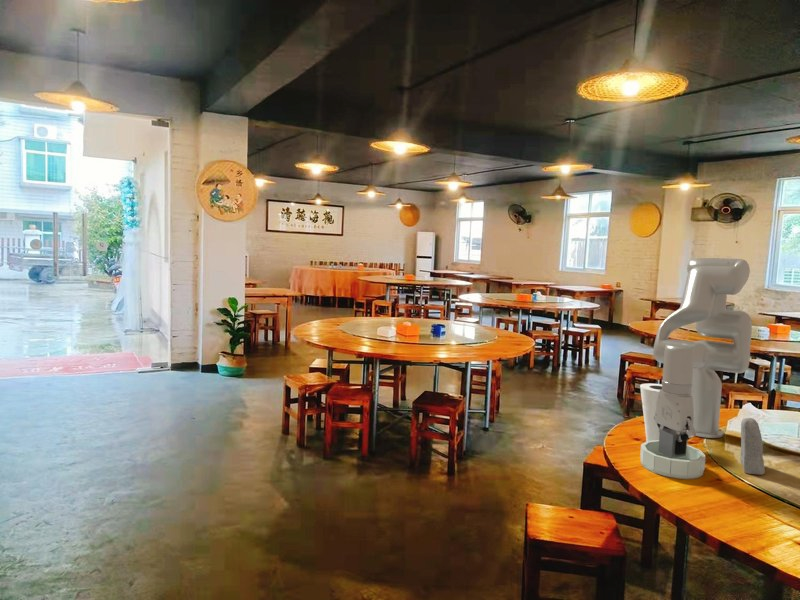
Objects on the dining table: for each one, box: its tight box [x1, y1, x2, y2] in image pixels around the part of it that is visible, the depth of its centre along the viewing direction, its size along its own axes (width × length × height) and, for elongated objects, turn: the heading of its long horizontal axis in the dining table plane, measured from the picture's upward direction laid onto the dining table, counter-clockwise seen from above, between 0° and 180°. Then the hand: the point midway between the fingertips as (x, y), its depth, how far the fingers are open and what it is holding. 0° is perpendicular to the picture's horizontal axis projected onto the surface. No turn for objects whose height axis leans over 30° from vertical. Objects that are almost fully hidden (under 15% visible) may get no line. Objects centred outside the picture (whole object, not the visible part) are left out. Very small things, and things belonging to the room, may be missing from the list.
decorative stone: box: [740, 417, 766, 476], centre depth 155 cm, size 11×6×15 cm, turn 156°
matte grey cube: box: [658, 429, 688, 458], centre depth 155 cm, size 5×5×6 cm
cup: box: [639, 382, 662, 442], centre depth 174 cm, size 11×11×18 cm
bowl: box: [639, 440, 706, 480], centre depth 155 cm, size 16×16×5 cm
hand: (672, 449), depth 155 cm, fingers closed on matte grey cube, 5 cm apart
